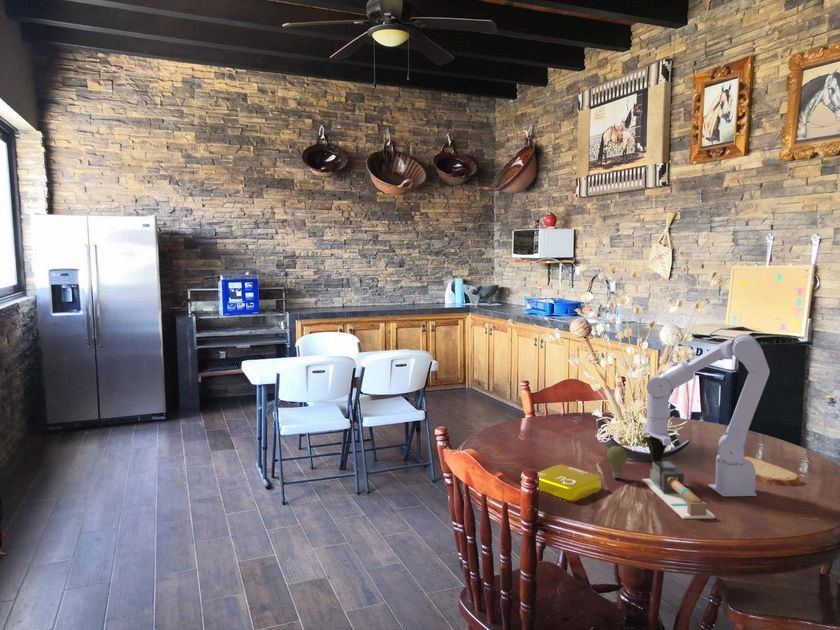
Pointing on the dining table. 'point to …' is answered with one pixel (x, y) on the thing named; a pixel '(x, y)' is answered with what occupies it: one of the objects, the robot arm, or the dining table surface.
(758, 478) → the slice of bread
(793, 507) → the dining table surface
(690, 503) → the pipe rig
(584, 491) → the element tile
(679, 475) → the grey square frame
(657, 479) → the sleeve
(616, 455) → the light bulb
